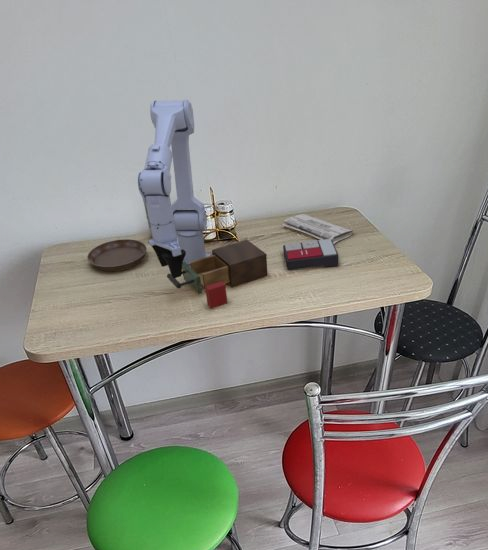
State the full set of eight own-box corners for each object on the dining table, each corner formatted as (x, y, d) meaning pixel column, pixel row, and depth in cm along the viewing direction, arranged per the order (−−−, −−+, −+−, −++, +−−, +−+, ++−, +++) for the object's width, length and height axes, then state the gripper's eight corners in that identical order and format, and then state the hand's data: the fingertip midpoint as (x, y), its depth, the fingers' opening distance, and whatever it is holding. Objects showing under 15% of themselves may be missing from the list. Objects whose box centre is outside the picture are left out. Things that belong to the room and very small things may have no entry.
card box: (211, 308, 126) (208, 290, 122) (207, 305, 127) (204, 286, 124) (227, 303, 128) (225, 284, 124) (223, 299, 129) (221, 281, 126)
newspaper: (279, 227, 165) (280, 219, 164) (304, 220, 172) (305, 213, 171) (329, 246, 151) (330, 238, 150) (354, 237, 158) (355, 230, 157)
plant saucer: (130, 277, 141) (128, 268, 139) (78, 271, 145) (75, 262, 143) (158, 250, 154) (156, 241, 152) (109, 245, 158) (106, 237, 157)
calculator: (282, 242, 147) (331, 236, 147) (283, 255, 150) (331, 249, 150) (286, 259, 138) (338, 252, 138) (287, 272, 141) (338, 266, 141)
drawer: (180, 300, 128) (177, 283, 125) (166, 284, 135) (163, 267, 132) (232, 283, 134) (231, 266, 131) (216, 269, 141) (214, 252, 138)
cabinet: (232, 287, 134) (230, 265, 130) (214, 271, 142) (211, 249, 138) (267, 275, 138) (266, 253, 134) (248, 260, 146) (246, 239, 142)
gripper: (135, 215, 120) (146, 264, 128) (157, 235, 110) (167, 287, 118) (162, 208, 123) (171, 257, 131) (185, 227, 113) (193, 278, 121)
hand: (171, 271), depth 125 cm, fingers open, 7 cm apart
